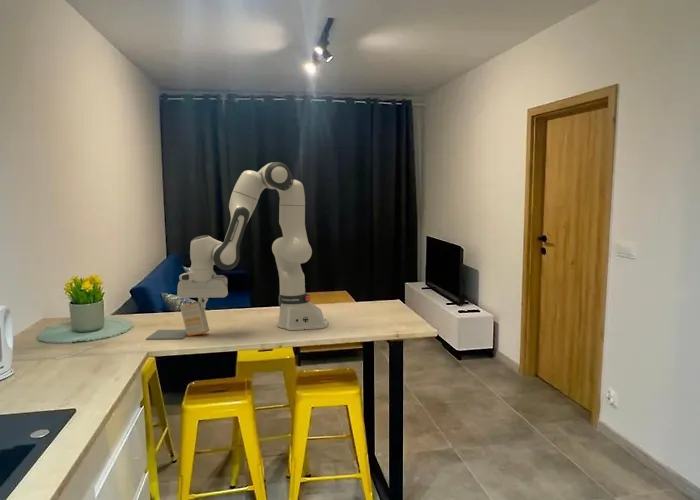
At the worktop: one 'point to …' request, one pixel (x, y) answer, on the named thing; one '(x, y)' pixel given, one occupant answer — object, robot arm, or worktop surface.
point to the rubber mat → (168, 335)
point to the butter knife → (68, 355)
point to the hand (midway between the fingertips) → (203, 307)
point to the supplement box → (194, 318)
